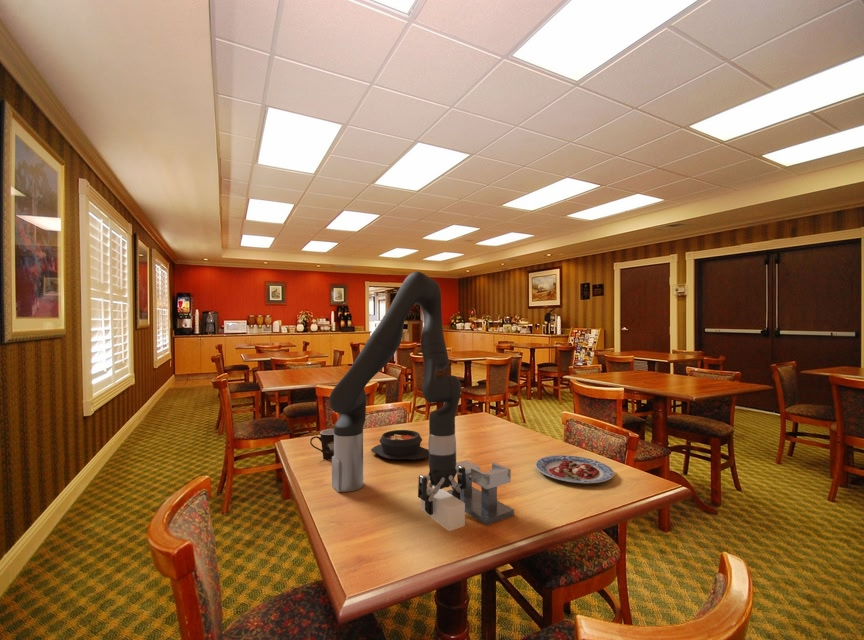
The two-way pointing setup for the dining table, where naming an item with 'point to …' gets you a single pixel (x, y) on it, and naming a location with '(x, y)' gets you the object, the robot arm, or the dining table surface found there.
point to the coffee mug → (326, 443)
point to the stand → (484, 492)
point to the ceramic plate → (574, 469)
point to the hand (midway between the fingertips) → (442, 509)
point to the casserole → (401, 445)
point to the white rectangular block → (447, 510)
